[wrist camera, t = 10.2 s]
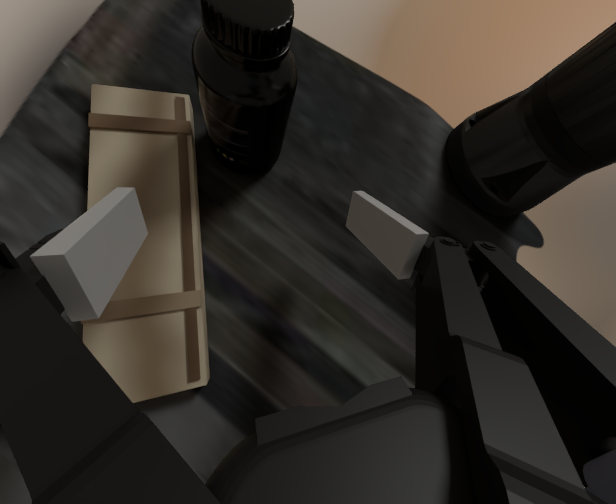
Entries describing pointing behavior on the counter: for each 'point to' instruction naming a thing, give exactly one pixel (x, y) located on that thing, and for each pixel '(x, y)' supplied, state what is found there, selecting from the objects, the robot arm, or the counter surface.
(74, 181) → the counter surface
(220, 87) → the supplement bottle
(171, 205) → the birch board
